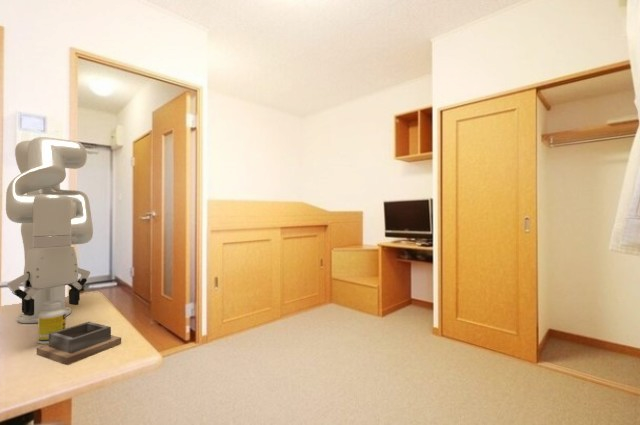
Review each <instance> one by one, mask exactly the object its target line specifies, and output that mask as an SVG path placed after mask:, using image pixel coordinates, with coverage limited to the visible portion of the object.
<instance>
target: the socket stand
mask: <svg viewBox="0 0 640 425" xmlns="http://www.w3.org/2000/svg"><path fill="white" fill-rule="evenodd" d="M121 344H122V337H120V336H117V335H113V334H112V327H111V326H109V325H104V324H100V323H96V322H92V321H86V322H83V323H80V324H76V325H73V326H70V327H67V328H66V327H65V329H63V330H59V331H56V332H53V333H50V334H49V344H43V345H41V346H38V347H36V355H37V356H41V357H43V358H46V359H49V360H52V361H55V362H58V363H60V364H63V365H67V366H69V365H71V364H74V363H76V362H78V361H81V360H83V359H87V358H88V357H91V356H94V355H96V354H98V353H101V352H103V351H106V350H109V349H111V348H114V347H116V346H119V345H121Z"/></svg>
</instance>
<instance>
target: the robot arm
mask: <svg viewBox="0 0 640 425" xmlns="http://www.w3.org/2000/svg"><path fill="white" fill-rule="evenodd" d="M14 152H15V153H14V155H15V156H14V157H15V160H16V161H15V162H16V165H17V168H18V171H19V172H20V174H18V175H17V176H16V177H14V178H13V179H12V180H11V181H10V183H9V184H8V186H7V189H6V192H5V193H6V195H5V212H6V213H5V214H6V216H7V218H8V220H9V221H10V222H13V223H15V224H21V226H20V235H21V239H22V244H23V254H24V265H23V266H24V268H23V274H22V275H20V276H18V277H17V278H15V279H13V280H11V281H9V282H8V283H6V287H7V288H8V289H9V290H10V291H11V293H12V294H13V295H15V296H16V297H18V298H19V299H20V300H21V312H22V314H20V315H19V316H17V319H16V320H17V322H18V323H22V324H38V316H39V314H40V313H41V312H42V311H43V309H42V304H43V303H45V302H48V301H54V300H61V301H63V305H62V307H61V308H62V309H64V310H65V311H66V317H67V316H69V315H70V314H71V313H72V308H71V307H68V306H66V286H69V288H70V289H69V290H68V304H69V305H73V306H78V305H79V302H80V300H81V299H80V297H81V296H80V295H81V294H80V293H81V292H80V291H81V290H82V289H83V286H84V285H85V284H86V283H87V281H88V278H89V276H90V275H91V271H89V270H87V269H83V268H81V267H79V266H78V259H77V252H76V249H75V247H74V246H72V245H83V244H87V243H89V242H90V241H91V240H92V238H93V234H94V225H93V218H92V214H91V213H92V212H91V206H90V200H89V198H88V195H87V194H86V193H85V192H83V191H80V190H72V189H61V183H63V182H64V181H65V179H66V176H67V171H66V169H70V170H73V169H75V170H76V169H81V168H83V167H84V166H85V165H86V164H87V159H88V158H87V157H88V155H87V150H86V147H85V146H84V145H83V144H82V143H81V142H80V141H76V140H71V139H70V140H69V139H63V138H62V139H61V138H55V137H46V136H44V137H40V136H39V137H36V138H33V139H30V140H23V141H20V142H18V143H17V144H16V146H15V150H14ZM79 274H80V278H79ZM78 278H79V279H78ZM21 284H22V286H23V288H24V289H23V290H22V289H21V288H20V285H21Z"/></svg>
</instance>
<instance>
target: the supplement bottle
mask: <svg viewBox="0 0 640 425" xmlns="http://www.w3.org/2000/svg"><path fill="white" fill-rule="evenodd" d="M62 305H63V301H61V300H54V301H48V302H45V303H43V304H42V309H43V311H42V312H41V313H40V314H39V316H38V323H37V330H38V331H37V341H38V344H41V345H47V344H49V334H50V333H53V332H56V331H59V330H63V329H66V323H67V322H66V317H67V316H66V311H65V310H64V309H62V308H61V307H62Z"/></svg>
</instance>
